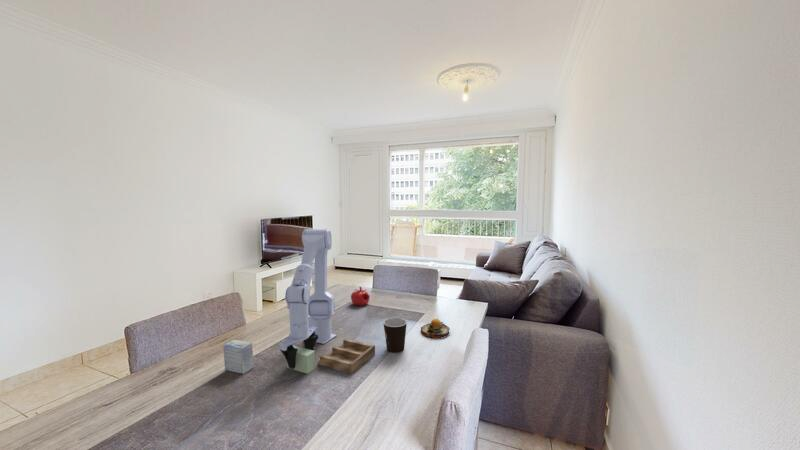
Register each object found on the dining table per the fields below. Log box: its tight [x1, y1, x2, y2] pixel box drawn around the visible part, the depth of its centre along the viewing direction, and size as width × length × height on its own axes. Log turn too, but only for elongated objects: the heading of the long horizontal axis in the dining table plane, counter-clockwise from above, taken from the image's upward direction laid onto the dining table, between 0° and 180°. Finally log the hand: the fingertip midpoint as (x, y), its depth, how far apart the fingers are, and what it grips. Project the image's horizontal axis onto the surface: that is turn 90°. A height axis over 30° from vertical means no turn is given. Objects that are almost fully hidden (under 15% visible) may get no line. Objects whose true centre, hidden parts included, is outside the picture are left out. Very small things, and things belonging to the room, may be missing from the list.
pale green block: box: [286, 345, 316, 374], centre depth 99 cm, size 9×4×6 cm, turn 64°
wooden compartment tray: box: [317, 338, 376, 375], centre depth 105 cm, size 14×14×3 cm
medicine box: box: [223, 339, 255, 375], centre depth 99 cm, size 8×4×9 cm, turn 71°
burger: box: [420, 317, 451, 339], centre depth 125 cm, size 12×12×8 cm
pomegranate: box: [350, 286, 370, 307], centre depth 161 cm, size 10×10×9 cm
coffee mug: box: [383, 317, 408, 354], centre depth 113 cm, size 12×9×10 cm
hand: (300, 362), depth 99 cm, fingers open, 7 cm apart
